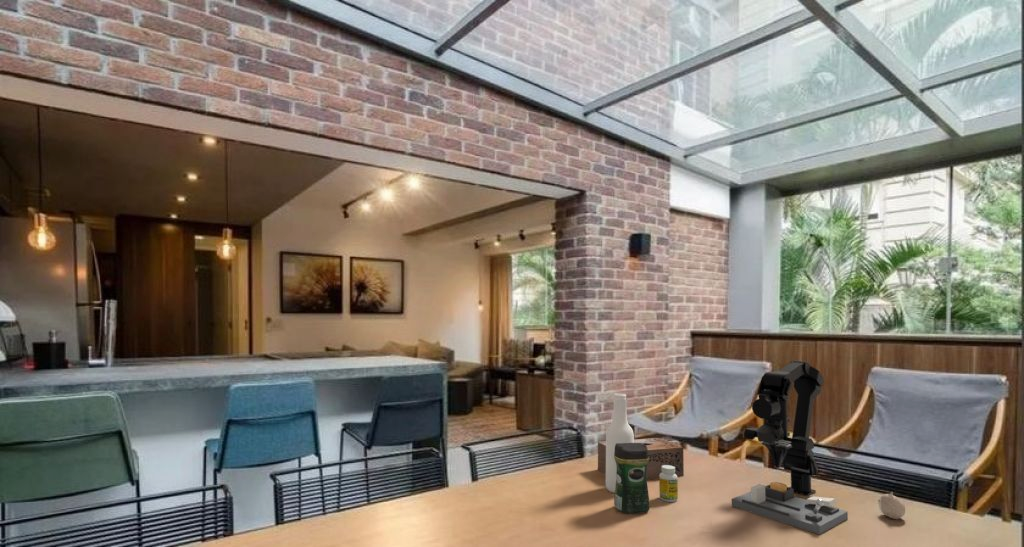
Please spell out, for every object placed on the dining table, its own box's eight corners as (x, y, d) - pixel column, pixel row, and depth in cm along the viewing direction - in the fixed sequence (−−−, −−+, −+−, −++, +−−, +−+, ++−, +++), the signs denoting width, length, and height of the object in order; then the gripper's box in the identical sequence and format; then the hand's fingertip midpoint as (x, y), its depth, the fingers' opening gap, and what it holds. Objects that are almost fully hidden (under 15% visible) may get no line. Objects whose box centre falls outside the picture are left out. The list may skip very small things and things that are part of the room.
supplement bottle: (667, 495, 160) (667, 463, 160) (681, 500, 155) (681, 467, 156) (655, 498, 157) (655, 465, 157) (669, 503, 152) (669, 470, 153)
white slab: (813, 500, 148) (812, 496, 149) (836, 503, 144) (835, 498, 144) (807, 503, 146) (806, 499, 146) (830, 506, 141) (829, 501, 142)
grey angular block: (760, 499, 151) (759, 483, 152) (765, 500, 150) (765, 485, 150) (751, 502, 148) (751, 487, 149) (756, 504, 147) (756, 488, 147)
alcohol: (635, 487, 166) (635, 393, 168) (632, 496, 158) (632, 397, 160) (607, 483, 169) (608, 391, 171) (603, 492, 161) (604, 395, 163)
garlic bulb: (873, 514, 147) (872, 486, 147) (887, 511, 149) (886, 483, 150) (898, 523, 141) (897, 493, 141) (912, 520, 143) (911, 490, 144)
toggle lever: (812, 509, 138) (819, 496, 137) (819, 514, 137) (826, 501, 136) (809, 511, 137) (816, 498, 136) (816, 516, 136) (823, 502, 135)
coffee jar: (641, 503, 152) (641, 439, 153) (653, 514, 144) (653, 446, 145) (610, 505, 150) (610, 440, 152) (620, 515, 142) (620, 447, 144)
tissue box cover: (659, 464, 193) (658, 437, 194) (683, 476, 179) (683, 447, 180) (597, 470, 184) (597, 442, 185) (618, 483, 171) (618, 452, 172)
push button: (774, 491, 158) (774, 481, 158) (789, 495, 154) (789, 485, 154) (767, 494, 155) (767, 483, 155) (782, 498, 151) (782, 487, 152)
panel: (762, 493, 162) (762, 479, 163) (847, 518, 143) (847, 502, 144) (731, 505, 151) (731, 490, 152) (819, 534, 132) (819, 516, 133)
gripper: (733, 412, 159) (734, 464, 158) (796, 423, 144) (797, 480, 143) (752, 409, 166) (752, 458, 164) (814, 419, 151) (815, 473, 149)
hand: (777, 467), depth 155 cm, fingers closed
